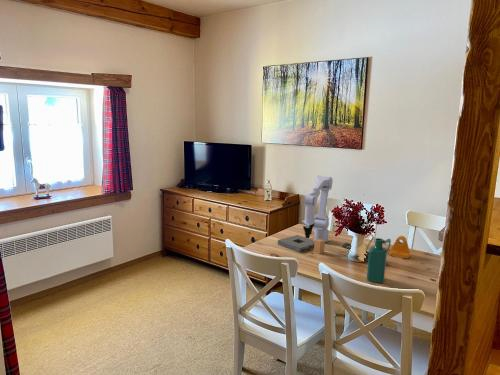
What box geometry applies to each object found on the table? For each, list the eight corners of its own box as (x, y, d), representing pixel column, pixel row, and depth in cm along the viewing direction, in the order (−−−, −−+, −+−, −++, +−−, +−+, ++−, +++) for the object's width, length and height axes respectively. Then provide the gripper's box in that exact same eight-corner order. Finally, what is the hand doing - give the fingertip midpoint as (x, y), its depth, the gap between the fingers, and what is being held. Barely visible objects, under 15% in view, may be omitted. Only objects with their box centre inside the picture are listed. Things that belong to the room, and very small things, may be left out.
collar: (297, 239, 259) (297, 234, 258) (318, 246, 245) (319, 242, 244) (277, 244, 246) (277, 240, 246) (299, 252, 233) (299, 248, 232)
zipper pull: (346, 241, 236) (386, 251, 220) (345, 252, 237) (385, 262, 221) (340, 245, 229) (381, 255, 213) (339, 255, 230) (380, 267, 215)
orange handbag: (388, 255, 232) (390, 237, 230) (391, 252, 238) (393, 234, 236) (407, 259, 227) (409, 240, 225) (409, 256, 233) (411, 237, 231)
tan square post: (318, 250, 238) (319, 238, 236) (323, 252, 234) (324, 240, 233) (313, 252, 235) (314, 239, 233) (319, 254, 232) (320, 241, 230)
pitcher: (366, 281, 195) (369, 240, 191) (367, 274, 203) (371, 235, 199) (386, 284, 192) (390, 242, 187) (386, 278, 199) (390, 238, 195)
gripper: (304, 211, 239) (303, 231, 242) (301, 216, 225) (300, 238, 228) (316, 212, 237) (314, 233, 240) (313, 218, 224) (311, 240, 226)
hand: (308, 236), depth 234 cm, fingers open, 7 cm apart
